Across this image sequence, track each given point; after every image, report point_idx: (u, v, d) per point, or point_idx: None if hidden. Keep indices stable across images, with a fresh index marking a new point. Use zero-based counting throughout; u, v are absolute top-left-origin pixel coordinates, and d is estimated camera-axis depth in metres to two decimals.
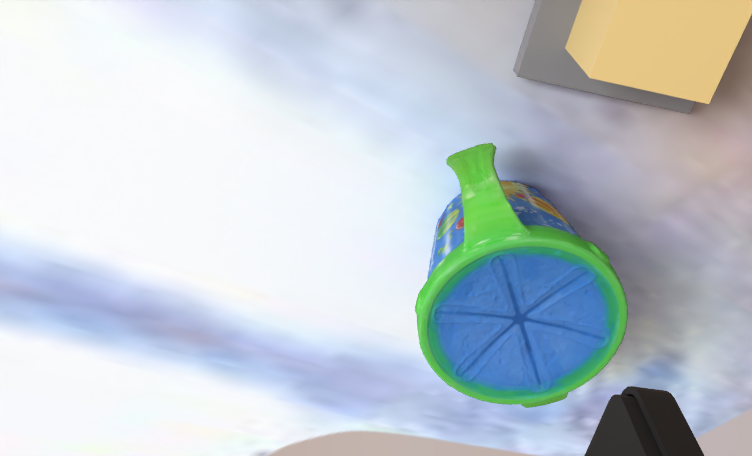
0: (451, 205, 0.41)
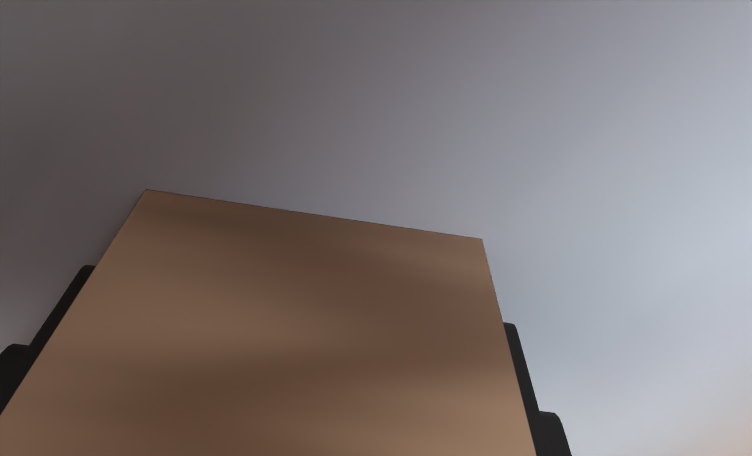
0: None
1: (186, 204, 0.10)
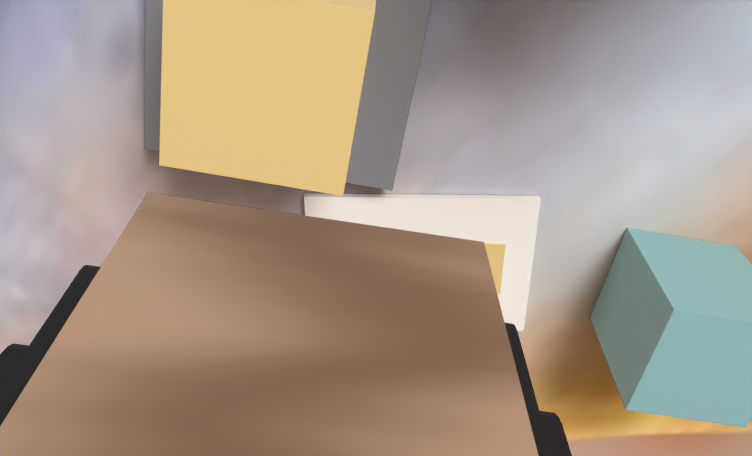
0: None
1: (188, 207, 0.10)
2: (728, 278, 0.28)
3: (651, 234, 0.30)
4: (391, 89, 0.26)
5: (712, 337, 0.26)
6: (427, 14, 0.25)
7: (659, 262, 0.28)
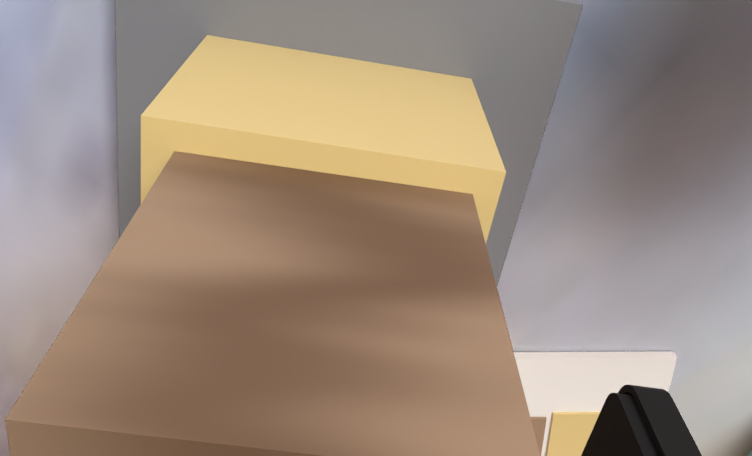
0: None
1: (210, 163, 0.11)
2: None
3: None
4: None
5: None
6: (542, 127, 0.17)
7: None
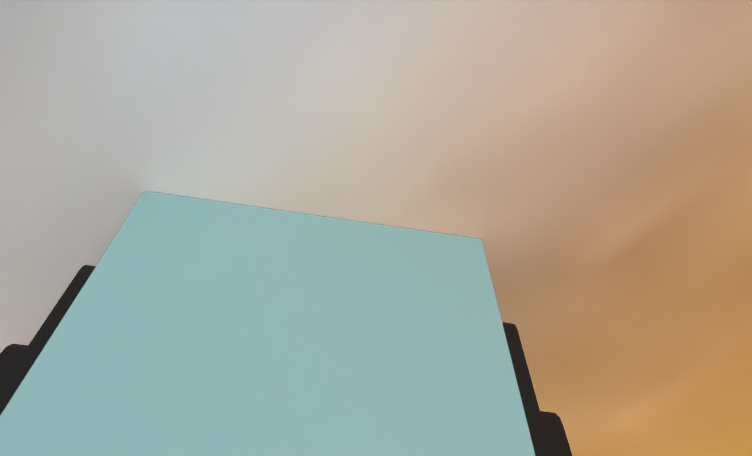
0: None
1: None
2: (366, 361, 0.08)
3: (209, 212, 0.10)
4: None
5: None
6: None
7: (128, 305, 0.08)
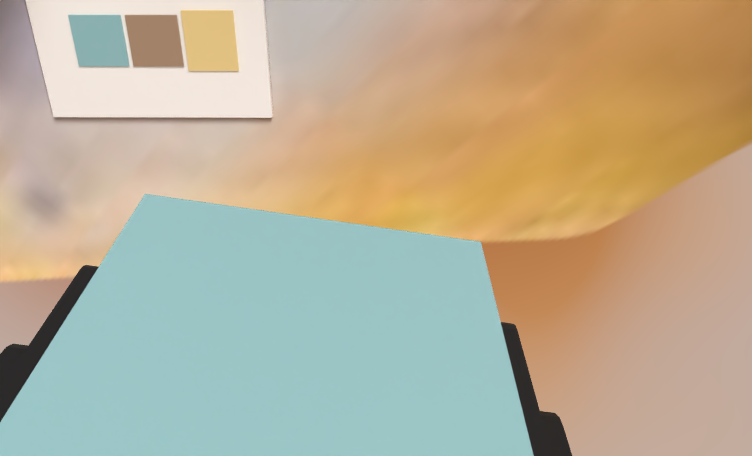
0: None
1: None
2: (366, 365, 0.08)
3: (209, 216, 0.10)
4: None
5: None
6: None
7: (129, 308, 0.08)
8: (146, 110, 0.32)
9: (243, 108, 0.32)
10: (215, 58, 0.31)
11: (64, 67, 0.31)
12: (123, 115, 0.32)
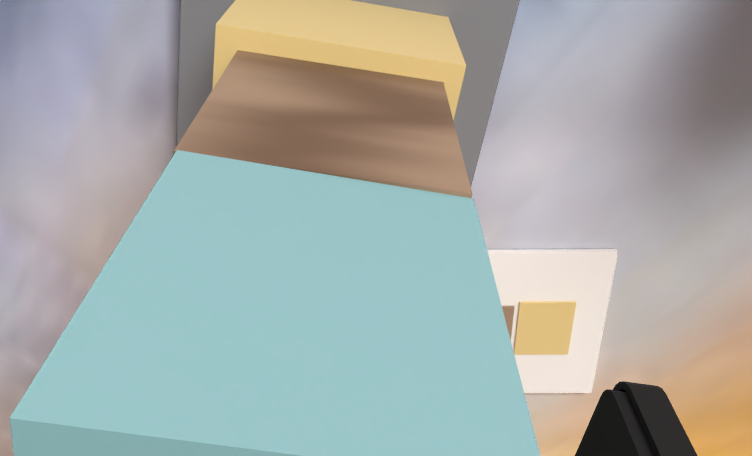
0: None
1: (263, 57, 0.17)
2: (375, 289, 0.09)
3: (234, 169, 0.11)
4: (458, 139, 0.23)
5: None
6: (503, 55, 0.22)
7: (171, 237, 0.09)
8: None
9: (562, 385, 0.30)
10: (546, 343, 0.28)
11: None
12: None
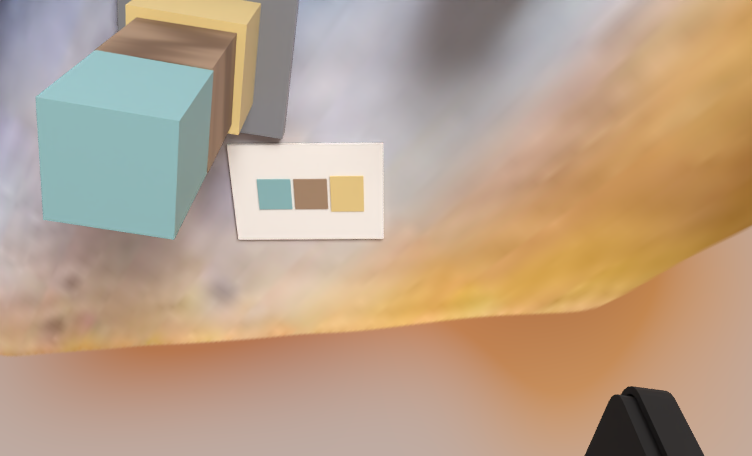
0: None
1: (148, 20, 0.35)
2: (153, 87, 0.27)
3: (116, 56, 0.30)
4: (275, 72, 0.41)
5: (89, 130, 0.25)
6: (293, 24, 0.40)
7: (87, 71, 0.28)
8: (300, 235, 0.48)
9: (364, 233, 0.48)
10: (349, 204, 0.47)
11: (249, 210, 0.47)
12: (284, 238, 0.48)
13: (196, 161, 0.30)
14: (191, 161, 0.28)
